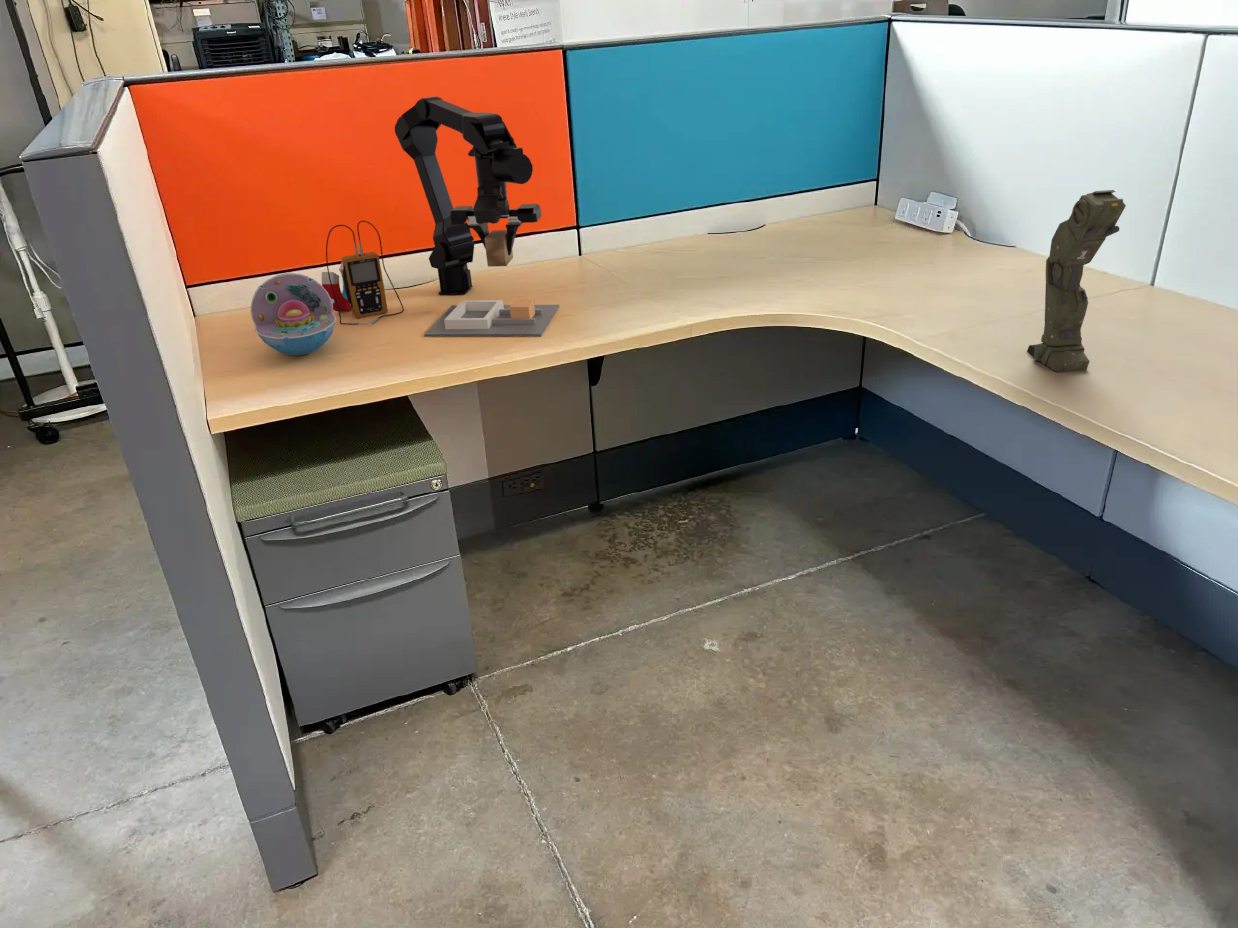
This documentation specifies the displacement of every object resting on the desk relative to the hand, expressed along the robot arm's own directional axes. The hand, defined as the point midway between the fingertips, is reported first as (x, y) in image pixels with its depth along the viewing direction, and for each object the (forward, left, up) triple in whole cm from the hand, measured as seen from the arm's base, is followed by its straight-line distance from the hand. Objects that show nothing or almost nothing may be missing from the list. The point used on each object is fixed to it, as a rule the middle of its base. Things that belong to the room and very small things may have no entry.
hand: (499, 255), depth 191 cm
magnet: (-36, -3, -11) cm, 37 cm away
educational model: (-34, -29, -11) cm, 46 cm away
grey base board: (0, -11, -11) cm, 16 cm away
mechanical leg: (+105, -34, -11) cm, 111 cm away
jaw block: (0, 0, -2) cm, 2 cm away
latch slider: (+7, -11, -11) cm, 17 cm away
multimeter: (-27, -9, -11) cm, 30 cm away
